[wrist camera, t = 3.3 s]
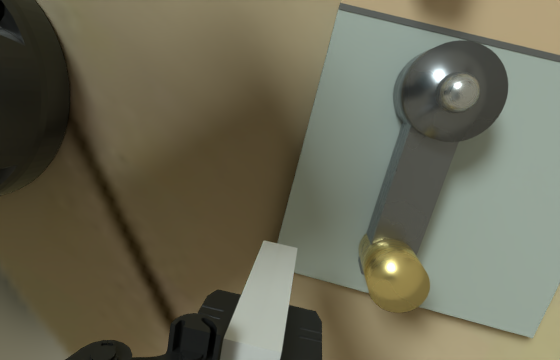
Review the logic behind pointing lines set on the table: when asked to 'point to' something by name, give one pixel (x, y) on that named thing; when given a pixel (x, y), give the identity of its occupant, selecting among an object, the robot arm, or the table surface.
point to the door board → (463, 169)
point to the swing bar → (426, 161)
